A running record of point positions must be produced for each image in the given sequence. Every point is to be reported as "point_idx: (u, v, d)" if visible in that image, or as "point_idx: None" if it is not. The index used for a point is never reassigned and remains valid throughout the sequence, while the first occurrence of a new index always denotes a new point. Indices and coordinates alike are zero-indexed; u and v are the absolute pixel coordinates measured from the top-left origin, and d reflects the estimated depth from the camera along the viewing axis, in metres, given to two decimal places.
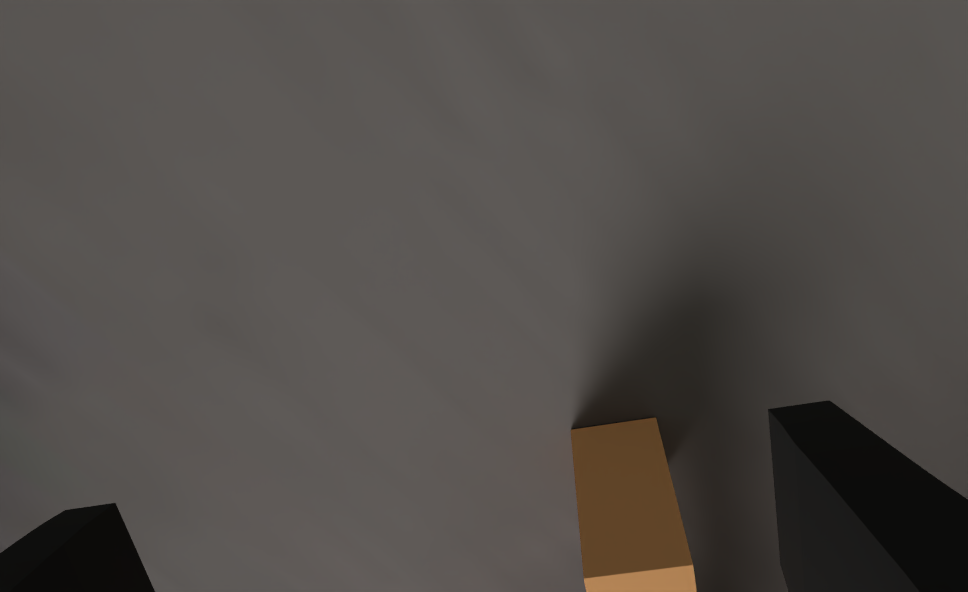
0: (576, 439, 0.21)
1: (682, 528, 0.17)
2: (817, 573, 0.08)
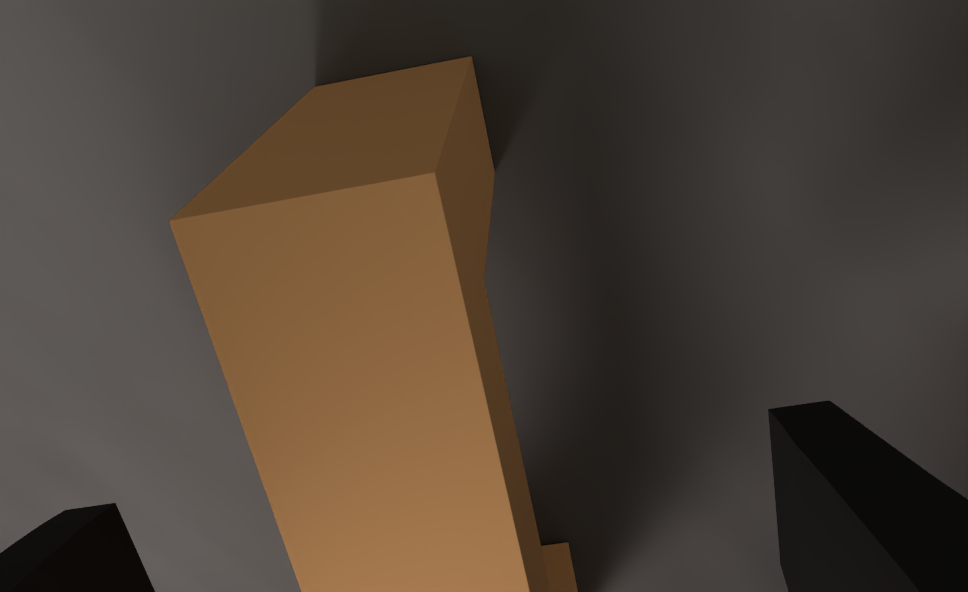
0: (315, 91, 0.11)
1: (442, 137, 0.07)
2: (817, 573, 0.08)
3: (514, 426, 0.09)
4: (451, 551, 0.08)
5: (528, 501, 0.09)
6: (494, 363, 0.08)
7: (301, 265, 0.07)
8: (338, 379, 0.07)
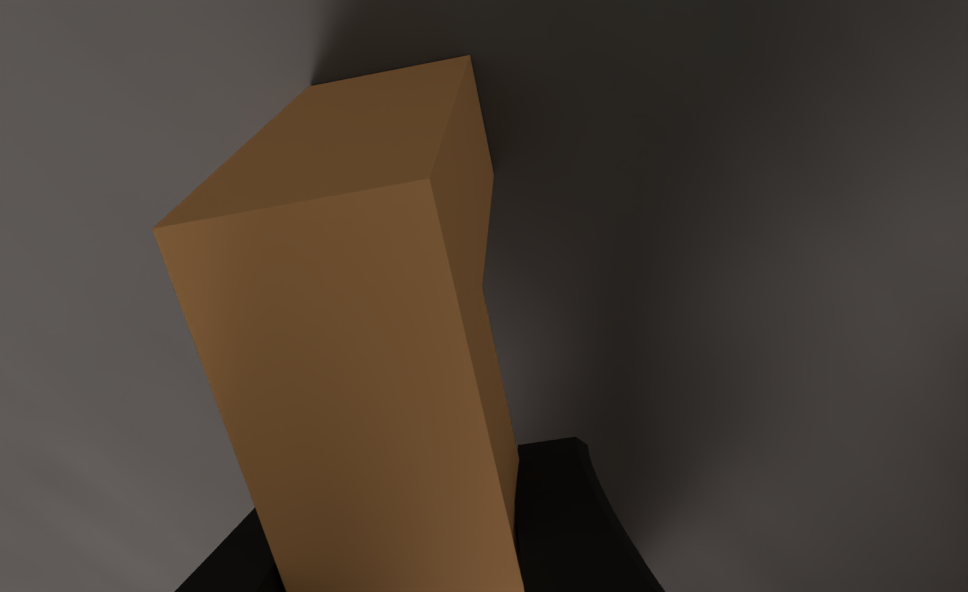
0: (309, 92, 0.10)
1: (439, 140, 0.07)
2: None
3: (513, 437, 0.09)
4: (449, 569, 0.07)
5: None
6: (492, 374, 0.08)
7: (290, 275, 0.06)
8: (330, 392, 0.07)
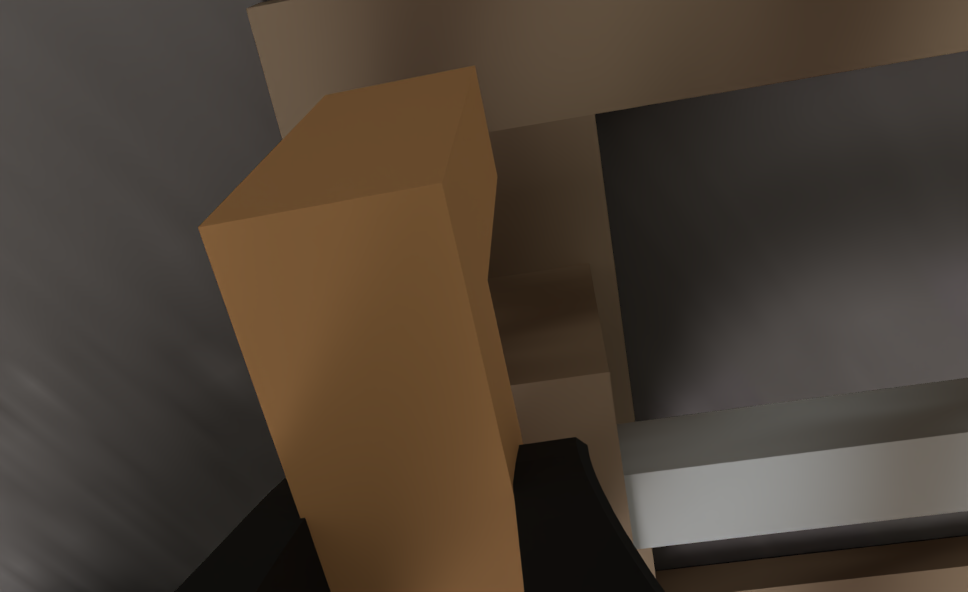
0: (326, 100, 0.11)
1: (449, 148, 0.08)
2: None
3: (516, 416, 0.09)
4: (459, 532, 0.08)
5: None
6: (497, 357, 0.09)
7: (318, 267, 0.07)
8: (353, 372, 0.08)
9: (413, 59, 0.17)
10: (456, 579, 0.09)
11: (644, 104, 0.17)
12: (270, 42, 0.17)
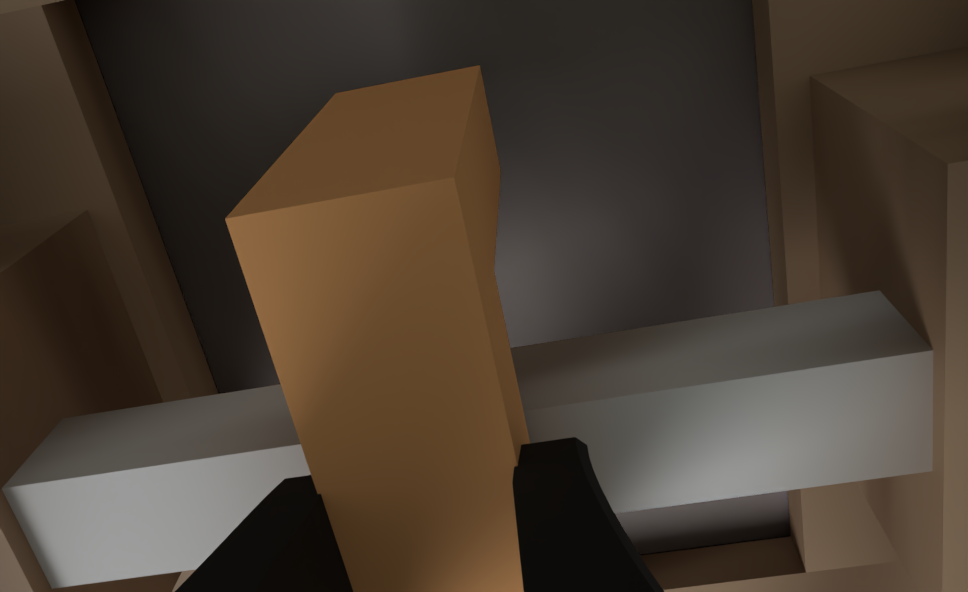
0: (337, 98, 0.12)
1: (459, 144, 0.08)
2: None
3: (520, 399, 0.10)
4: (466, 506, 0.09)
5: None
6: (503, 342, 0.09)
7: (338, 257, 0.08)
8: (369, 355, 0.08)
9: None
10: (464, 552, 0.09)
11: None
12: None
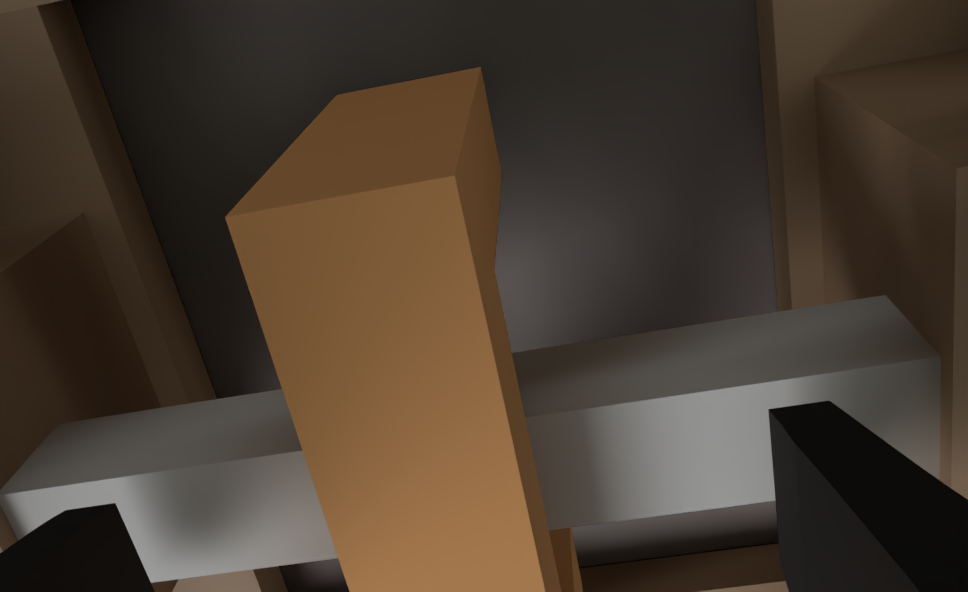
0: (338, 100, 0.12)
1: (459, 144, 0.08)
2: (817, 573, 0.08)
3: (521, 400, 0.10)
4: (466, 507, 0.09)
5: (533, 468, 0.10)
6: (503, 343, 0.09)
7: (339, 255, 0.08)
8: (369, 355, 0.08)
9: None
10: (464, 553, 0.09)
11: None
12: None
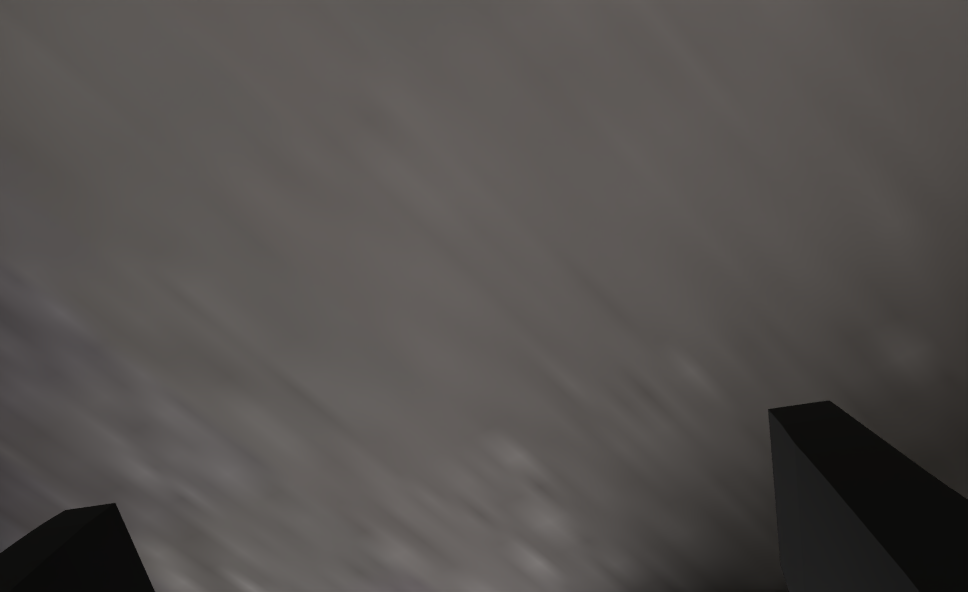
0: None
1: None
2: (817, 573, 0.08)
3: None
4: None
5: None
6: None
7: None
8: None
9: None
10: None
11: None
12: None
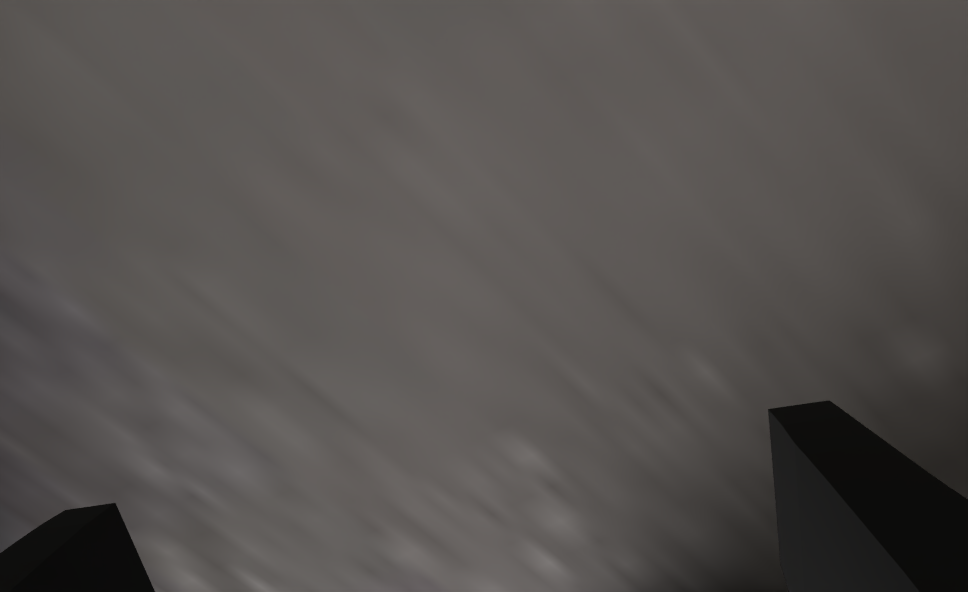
0: None
1: None
2: (817, 573, 0.08)
3: None
4: None
5: None
6: None
7: None
8: None
9: None
10: None
11: None
12: None
